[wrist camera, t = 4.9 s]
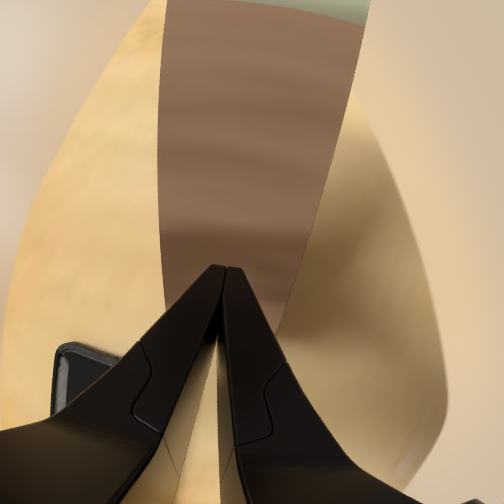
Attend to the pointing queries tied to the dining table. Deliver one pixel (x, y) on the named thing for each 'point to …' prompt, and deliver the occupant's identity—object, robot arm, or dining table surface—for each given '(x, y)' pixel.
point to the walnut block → (249, 134)
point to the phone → (76, 372)
